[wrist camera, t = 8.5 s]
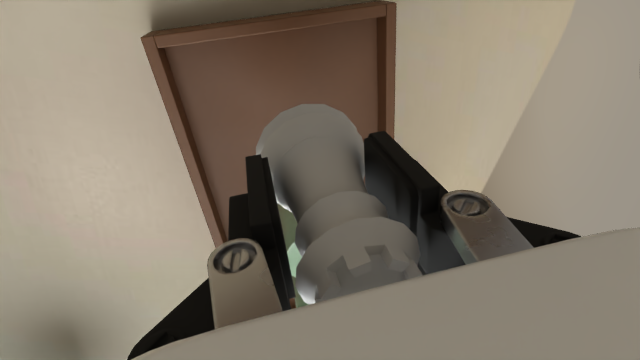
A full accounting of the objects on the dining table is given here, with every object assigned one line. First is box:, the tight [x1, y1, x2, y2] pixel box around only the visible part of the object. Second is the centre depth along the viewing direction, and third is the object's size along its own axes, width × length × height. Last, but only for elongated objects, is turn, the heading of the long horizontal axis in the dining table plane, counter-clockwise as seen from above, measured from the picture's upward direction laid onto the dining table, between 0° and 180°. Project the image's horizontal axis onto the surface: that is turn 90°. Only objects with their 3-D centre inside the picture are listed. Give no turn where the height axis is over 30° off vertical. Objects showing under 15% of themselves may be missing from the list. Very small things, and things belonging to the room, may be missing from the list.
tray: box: [141, 1, 396, 309], centre depth 24 cm, size 13×24×2 cm, turn 5°
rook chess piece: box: [256, 104, 422, 305], centre depth 11 cm, size 4×4×8 cm
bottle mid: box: [277, 203, 302, 278], centre depth 21 cm, size 4×4×9 cm
